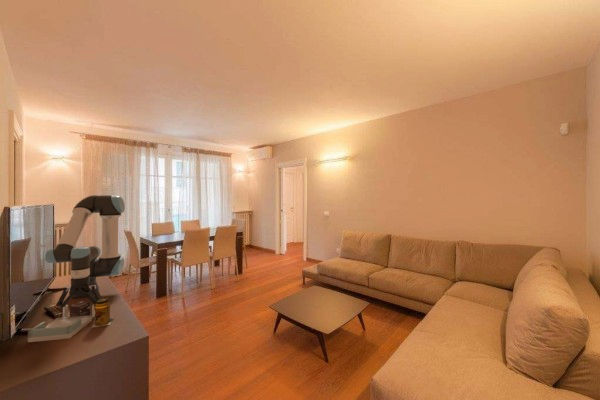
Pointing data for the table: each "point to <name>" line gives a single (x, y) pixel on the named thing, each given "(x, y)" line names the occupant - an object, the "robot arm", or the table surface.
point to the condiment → (102, 313)
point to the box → (80, 309)
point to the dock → (58, 328)
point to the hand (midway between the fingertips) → (80, 317)
